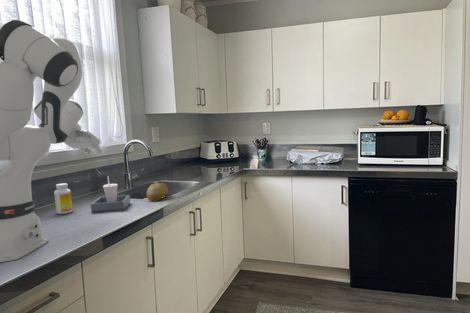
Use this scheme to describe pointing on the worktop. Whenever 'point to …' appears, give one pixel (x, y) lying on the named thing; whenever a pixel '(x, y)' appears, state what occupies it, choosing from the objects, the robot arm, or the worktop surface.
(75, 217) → the worktop surface
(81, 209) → the worktop surface
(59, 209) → the supplement bottle
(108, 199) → the smoothie
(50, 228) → the worktop surface
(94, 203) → the tray
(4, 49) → the robot arm
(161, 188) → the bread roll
